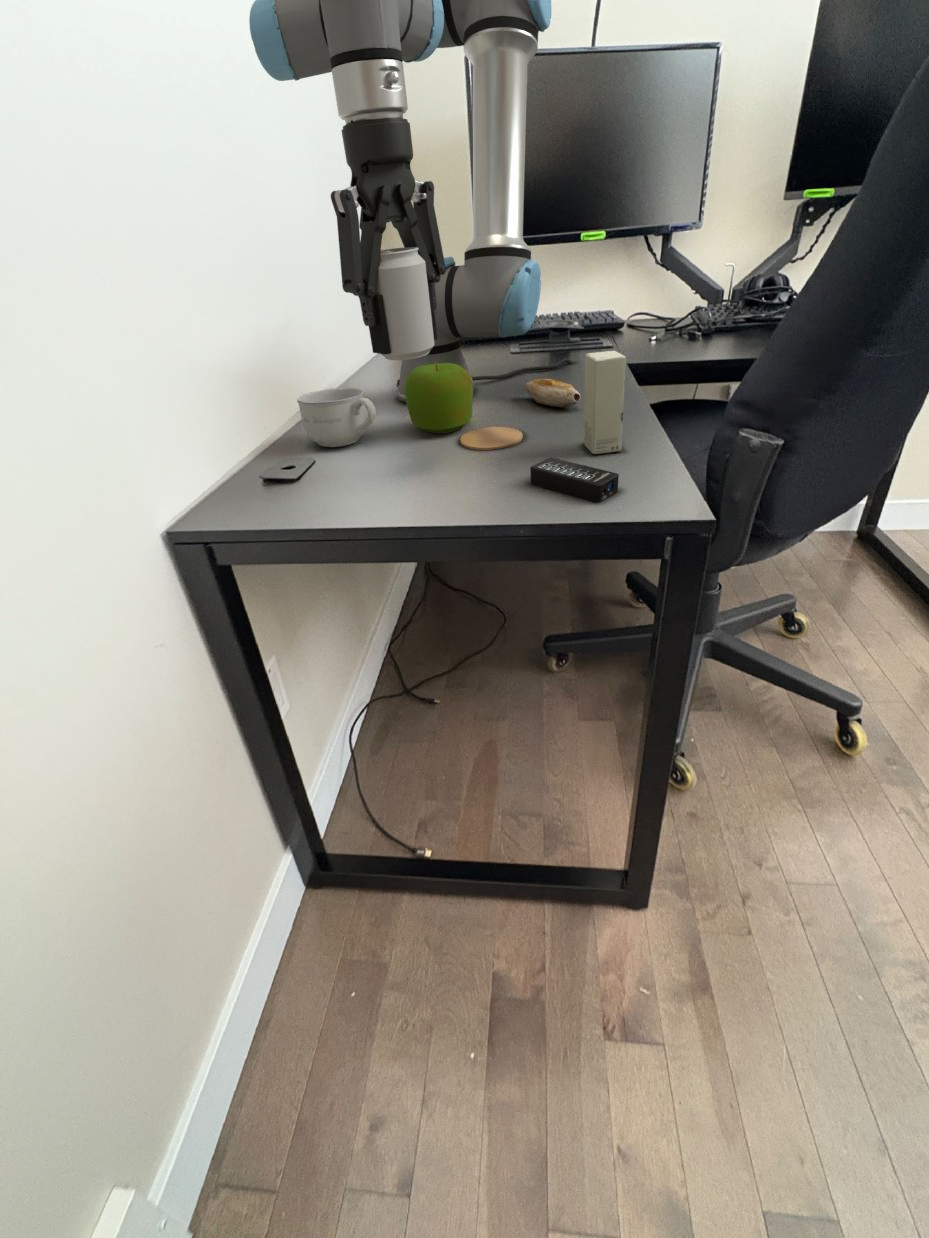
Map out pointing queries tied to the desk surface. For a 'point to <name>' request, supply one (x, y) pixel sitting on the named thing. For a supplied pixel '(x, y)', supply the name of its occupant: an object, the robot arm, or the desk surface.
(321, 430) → the teacup
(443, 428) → the apple
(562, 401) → the beige elongated hollow pod
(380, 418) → the desk surface
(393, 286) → the can
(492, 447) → the coaster
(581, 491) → the multiport hub
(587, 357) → the box
